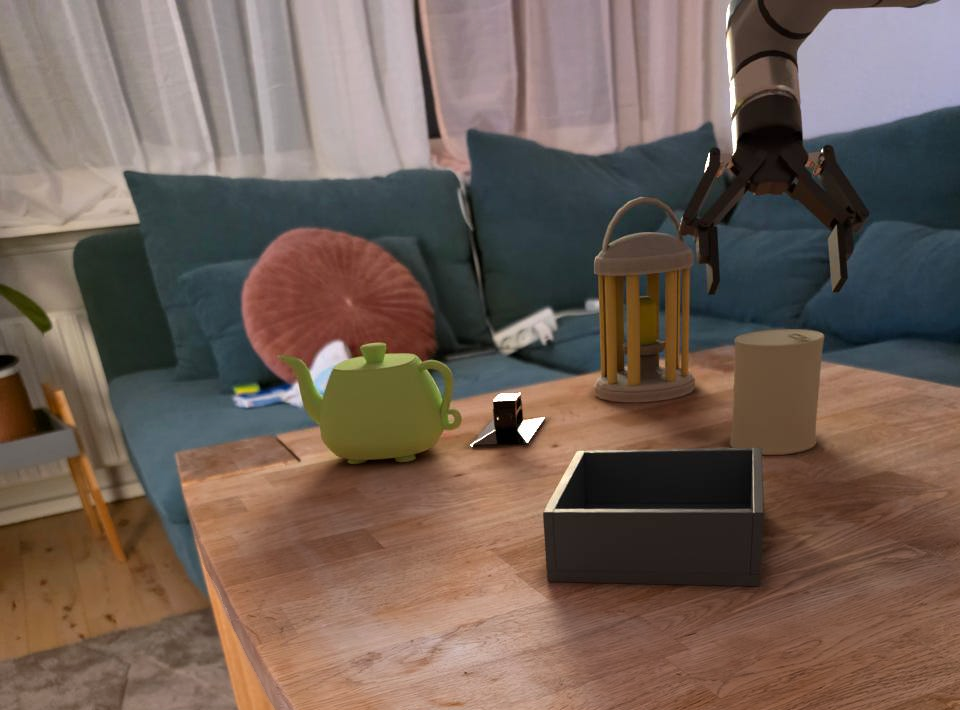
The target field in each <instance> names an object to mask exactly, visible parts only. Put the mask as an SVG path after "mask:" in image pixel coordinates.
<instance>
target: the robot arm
mask: <svg viewBox="0 0 960 710" xmlns="http://www.w3.org/2000/svg"><path fill="white" fill-rule="evenodd" d="M940 1H941V0H730V1H729V3H728V6H727V11H726V31H725V39H724V40H725V45H726V53H727V67H728V81H729V93H730V119H731V138H732V154H727V153H725V154H724V153H721V149H720V148H719V147H711V148H710V149H709V153H708V156H707V159H706V163H705V166H704V173H703V174H702V177H701V179H700V181H699V183H698V185H697V187H696V188H695V190H694V193H693V194H692V196H691V198H690V200H689V202H688V204H687V206H686V208H685V210H684V212H683V214H682V216H681V219H680V222H679V223H680V227H679V234H680V235H683V236H684V237H685V236H687V235H690V236H692V237H693V243H694V244H695V247H696V261H697V263H698V264H699V265H705V268H706V269H705V271H706V289H707V290H706V291H707V296H714V295H716V293H717V289H718V287H719V284H720V282H721V273H720V255H719V252H720V251H719V235H718V233H719V231H718V226H717V225H718V224H719V223H720V222H721V221H722V220H723V219H724V218H725V217H726V215H727V214H728V213H730V211H731V210H732V208H734V206H735V205H736V204H737V203H738V202H740V201H741V200H742V199H743V198H744V197H745V195H746V194H747V193H748V192H749V193H752V194H753V196H763V195H764V196H765V195H772V196H782V195H783V194H784V193H785V194H786V195H787V196H789V198H791V200H793V201H799V203H800V204H801V205H802V206H803V207H805V208H806V209H807V210H808V211H809V212H810V214H812V215H813V216H814V217H815V218H816V219H817V220H818V221H819V222H820V223H821V224H823V226H824V227H826V228H827V229H828V230H829V231H830V232H831V233H830V235H829V236H828V238H827V245H828V256H829V257H828V258H829V271H830V284H831V293H840V291H841V290H842V288H843V287H844V285H845V284H846V282H847V280H848V279H849V273H848V261H849V260H850V258H851V257H852V255H853V252H854V249H855V245H854V233H859V232H861V230H862V228H863V227H864V225H865V223H866V221H867V220H868V218H869V216H870V211H869V209H868V208H867V206H866V204H865V203H864V201H863V200H862V198H861V197H860V196H859V194H858V192H857V191H856V190H855V188H854V186H853V185H852V184H851V182H850V180H849V178H848V177H847V176H846V174H845V172H844V171H843V170H842V168H841V167H840V165H839V164H838V162H837V158H836V154H835V149H834V146H833V145H831V144H825V145H824V146H822V149H821V150H820V151H814V152H808V150H806V148H805V145H804V130H803V117H802V108H801V103H802V102H801V101H802V100H801V90H800V89H801V88H800V79H799V64H798V51H799V48H800V47H801V46H802V44H803V43H804V42H805V41H806V40H807V38H808V37H809V36H810V35H812V33H813V32H814V31H815V29H816V28H817V27H818V26H819V25H820V23H821V22H822V21H823V20H824V19H825V18H826V16H827V15H828V14H829V13H830V12H831V11H833V10H854V9H855V10H856V9H869V8H870V9H871V8H872V9H874V8H903V9H904V8H905V9H915V8H919V7H922V6H926V5H933V4H935V3H939V2H940ZM807 167H808V168H810V169H811V170H812V173H811V171H810V170H809V169H808V168H807ZM727 169H729V171H730V172H731V173H732V175H733V176H734V177H735V179H734V180H733V181H732V182H731V184H730V185H728V187H727V188H726V189H725V190H724V191H723V192H722V193H721V195H720V196H719V197H718V198H717V199H716V201H714V203H713V204H712V205H711V206H710V207H709V208H708V210H707V211H706V212H705V213H704V214H703V215H702V217H698V216H699V214H700V212H701V210H702V208H703V206H704V204H705V203H706V200H707V198H708V196H709V195H710V192H711V190H712V188H713V186H714V184H715V181H716V178H720V176H722V175H723V174H724V172H725V171H726V170H727ZM812 174H813V175H812ZM813 176H817V178H818V181H819V183H820V184H821V185H820V184H819V183H818V182H817V181H816V180H814V178H813ZM796 181H797V183H796Z"/></svg>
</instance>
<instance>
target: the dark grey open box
mask: <svg viewBox="0 0 960 710" xmlns="http://www.w3.org/2000/svg"><path fill="white" fill-rule="evenodd" d="M763 468H764V467H763V455H762V448H733V447H708V448H707V447H706V448H705V447H704V448H699V447H698V448H649V449H647V448H642V449H593V450H591V449H589V450H583V449H582V450H577V451H576V452H575V454H574V456H573V458H572V459H571V461H570V463H569V465H568V466H567V468H566V470H565V472H564V474H563V475H562V477H561V479H560V481H559V483H558V485H557V487H556V488H555V490H554V492H553V493H552V495H551V497H550V499H549V501H548V503H547V504H546V506H545V508H544V510H543V512H542V521H543V535H544V550H545V552H544V553H545V566H546V580H547V582H548V583H549V582H550V583H585V584H587V583H590V584H591V583H593V584H633V585H634V584H636V585H674V586H675V585H677V586H678V585H681V586H718V587H719V586H721V587H723V586H725V587H761V580H762V579H761V578H762V563H763V562H762V560H763V543H764V529H765V527H764V526H765V496H764V495H765V494H764V493H765V491H764V472H763V471H764V470H763Z"/></svg>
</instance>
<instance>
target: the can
mask: <svg viewBox="0 0 960 710" xmlns="http://www.w3.org/2000/svg"><path fill="white" fill-rule="evenodd" d="M733 340H734V369H733V370H734V371H733V398H732V419H731V420H732V421H731V423H732V424H731V436H730V440H729V445H730V446H731V448H762V456H782V455H783V456H785V455H791V454H798V453H802V452H805V451H809V450H810V449H812V448H814V447H815V445H816V444H817V437H816V436H817V435H816V433H817V416H818V415H817V414H818V405H819V403H818V402H819V392H820V379H821V368H822V359H823V348H824V340H825V334H824V333H822V332H820V331H817V330H811V329H801V328H778V329H765V330H764V329H763V330H757V331H751V332H746V333H743V334H739V335H737V336H736V337H735V338H734V339H733Z"/></svg>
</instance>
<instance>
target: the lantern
mask: <svg viewBox="0 0 960 710" xmlns="http://www.w3.org/2000/svg"><path fill="white" fill-rule="evenodd" d="M642 204H649V205H654V206H656V207H657V208H659V209H660V210H662V211H663V212H664V213H665V214H666V216H667V217H668V218H669V220H670V221H671V223H672V225H673V228H674V231H675V234H676V236H674V235H671V234H667V233H665V232H664V233H663V232H655V231H644V232H643V231H642V232H637V233H631V234H627V235H625V236H622V237H619V238H617V239H615V240H613V241H611V238H612V235H613V231H614V229H615V228H616V226H617V225H618V223H619V221H620V219H621V218H622V216H624V214H626V213H627V212H628V211H629V210H631V209H632V208H633V207H636V206H639V205H642ZM680 223H681V222H680V221H679V218H678V217H677V216H676V214H675V212H673V210H672V209H671V207H670V206H669V205H667V204H665V203H664V202H663V201H661V200H660V199H658V198H655V197H654V198H653V197H645V196H639V197H637V198H634V199H631V200H629V201H627V202H626V203H625V204H623V206H621V207H620V208H619V209H617V211H616V212H615V214H614V216H613V217H612V219H611V220H610V221H609V224H608V226H607V228H606V232H605V235H604V238H603V241H602V247H601V250H600V251H599V253H598V255H596V256H595V258H594V261H593V262H594V263H593V273H594V275H597V277H598V280H597V281H598V313H599V345H600V346H599V347H600V351H599V352H600V376H599V377H598V378H597V379H596V381H595V382H594V396H595V397H597V398H599V399H601V400H605V401H609V402H617V403H618V402H619V403H649V402H650V403H651V402H659V401H666V400H672V399H675V398H680V397H683V396H686V395H688V394H691V393H692V392H693V391H694V390H695V389H696V378H695V376H694V375H693V374H692V372H691V371H690V370H689V360H690V359H689V355H690V354H689V353H690V352H689V350H690V349H689V348H690V295H691V294H690V291H691V290H690V287H691V285H690V283H691V267H693V266H694V265H695V263H694V262H695V258H694V257H695V256H694V252H693V250H692V248H690V247H689V245H687V244H686V243H685V236H683V235H680V234H679V227H680ZM610 241H611V242H610ZM681 270H682V271H681ZM661 273H665V275H664V277H665V279H664V283H665V285H664V289H665V290H664V291H665V293H664V295H665V296H664V297H665V298H664V300H665V301H664V302H665V303H664V307H665V308H664V330H665V331H664V339H662V338H660V274H661ZM640 275H641V276H642V275H646V295H642V296H640V295H641V294H640V292H641V291H640ZM624 276H625V279H626V281H625V285H626V287H625V289H626V295H625V296H626V341H625V322H624V317H625V316H624V313H625V312H624ZM680 323H681V324H680ZM680 336H681V337H680ZM680 338H681V341H680ZM680 343H681V344H680ZM680 345H681V347H680ZM680 348H681V349H680ZM680 350H681V353H680ZM662 352H664V365H660V353H662ZM680 354H681V355H680ZM625 355H627V357H626V358H627V367H625ZM680 357H681V359H680Z"/></svg>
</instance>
